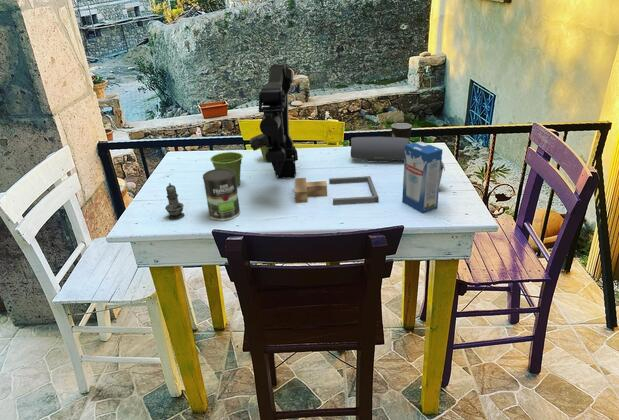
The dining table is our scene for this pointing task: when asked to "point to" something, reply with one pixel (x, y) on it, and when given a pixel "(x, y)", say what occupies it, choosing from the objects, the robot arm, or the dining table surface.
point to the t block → (309, 189)
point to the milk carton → (421, 176)
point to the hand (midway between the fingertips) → (278, 170)
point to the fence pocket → (355, 200)
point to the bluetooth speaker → (378, 148)
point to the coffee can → (221, 194)
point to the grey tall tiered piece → (174, 204)
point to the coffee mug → (401, 130)
